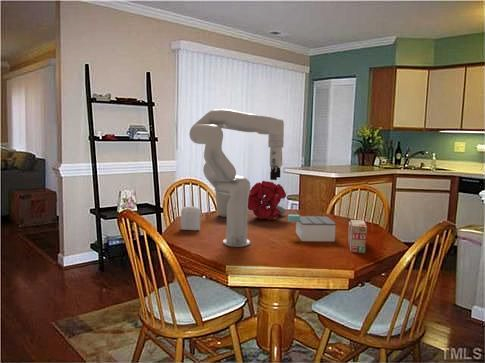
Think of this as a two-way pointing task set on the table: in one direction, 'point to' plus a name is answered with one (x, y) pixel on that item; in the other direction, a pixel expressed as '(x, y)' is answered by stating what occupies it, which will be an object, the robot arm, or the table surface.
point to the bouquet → (266, 200)
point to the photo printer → (190, 218)
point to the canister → (222, 203)
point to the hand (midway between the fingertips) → (275, 178)
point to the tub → (315, 232)
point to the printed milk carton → (357, 236)
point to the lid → (311, 220)
